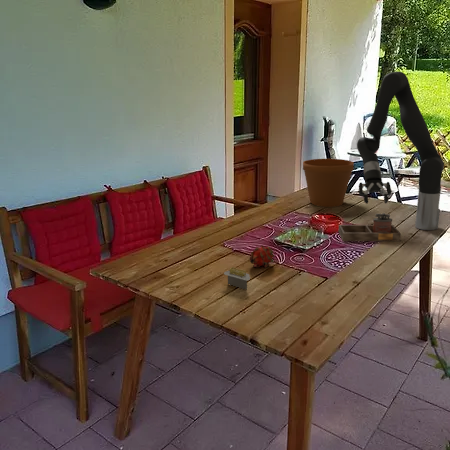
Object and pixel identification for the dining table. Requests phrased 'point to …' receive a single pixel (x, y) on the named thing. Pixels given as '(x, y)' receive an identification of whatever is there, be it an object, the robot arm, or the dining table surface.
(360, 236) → the divided wooden tray
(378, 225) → the lighter
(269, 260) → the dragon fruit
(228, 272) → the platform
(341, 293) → the dining table surface
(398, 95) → the robot arm
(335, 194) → the flowerpot
